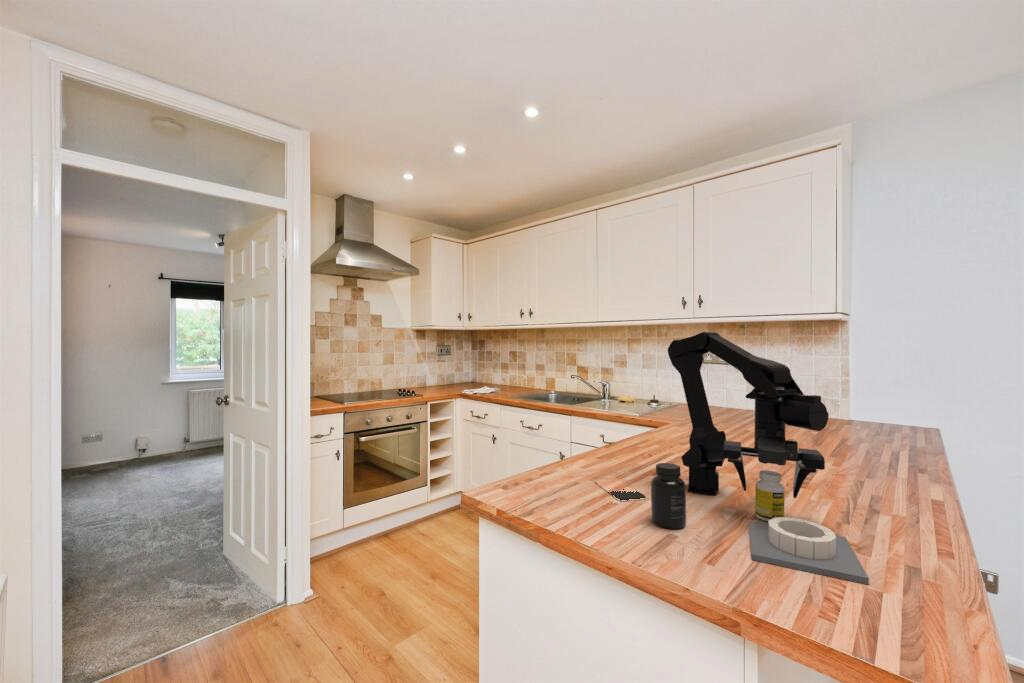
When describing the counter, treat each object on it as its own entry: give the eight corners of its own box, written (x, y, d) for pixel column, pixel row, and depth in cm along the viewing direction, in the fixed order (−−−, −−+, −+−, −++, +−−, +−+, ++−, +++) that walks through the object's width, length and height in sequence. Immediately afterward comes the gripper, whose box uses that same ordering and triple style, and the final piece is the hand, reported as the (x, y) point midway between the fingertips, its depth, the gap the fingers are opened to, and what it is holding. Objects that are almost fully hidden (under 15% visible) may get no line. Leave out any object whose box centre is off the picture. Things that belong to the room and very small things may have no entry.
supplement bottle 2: (774, 525, 88) (774, 478, 88) (749, 515, 93) (749, 471, 93) (789, 520, 91) (790, 474, 91) (764, 511, 96) (765, 467, 95)
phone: (617, 478, 117) (647, 497, 103) (617, 481, 117) (647, 500, 103) (592, 480, 115) (619, 499, 101) (592, 483, 115) (619, 503, 101)
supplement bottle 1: (684, 518, 91) (685, 463, 91) (686, 532, 85) (687, 472, 85) (651, 514, 94) (651, 459, 93) (650, 527, 87) (651, 468, 87)
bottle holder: (751, 559, 74) (752, 536, 74) (749, 524, 88) (749, 505, 88) (868, 584, 67) (869, 559, 67) (845, 542, 81) (845, 521, 81)
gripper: (720, 423, 89) (720, 498, 89) (830, 433, 80) (829, 516, 80) (722, 415, 99) (721, 482, 99) (820, 423, 90) (819, 496, 90)
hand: (769, 493), depth 92 cm, fingers open, 9 cm apart
